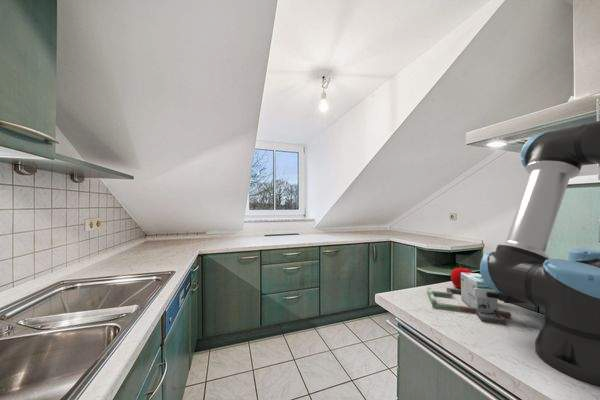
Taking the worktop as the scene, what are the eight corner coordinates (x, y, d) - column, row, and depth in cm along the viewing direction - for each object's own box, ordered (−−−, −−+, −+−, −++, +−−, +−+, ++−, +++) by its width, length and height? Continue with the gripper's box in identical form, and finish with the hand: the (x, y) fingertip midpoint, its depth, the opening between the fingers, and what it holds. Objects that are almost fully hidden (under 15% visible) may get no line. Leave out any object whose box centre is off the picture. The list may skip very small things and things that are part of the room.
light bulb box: (498, 314, 80) (498, 282, 80) (477, 312, 81) (476, 281, 81) (479, 300, 90) (478, 272, 90) (460, 299, 91) (459, 272, 91)
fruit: (463, 283, 109) (463, 261, 109) (481, 290, 100) (480, 267, 100) (445, 284, 108) (445, 262, 108) (462, 292, 99) (461, 268, 99)
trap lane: (519, 327, 72) (519, 318, 72) (435, 314, 80) (435, 306, 80) (488, 296, 94) (488, 290, 94) (425, 288, 103) (425, 283, 103)
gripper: (571, 322, 68) (480, 310, 75) (527, 292, 90) (460, 285, 98) (571, 296, 68) (480, 287, 75) (527, 273, 90) (459, 267, 98)
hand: (468, 286), depth 87 cm, fingers closed on light bulb box, 11 cm apart
